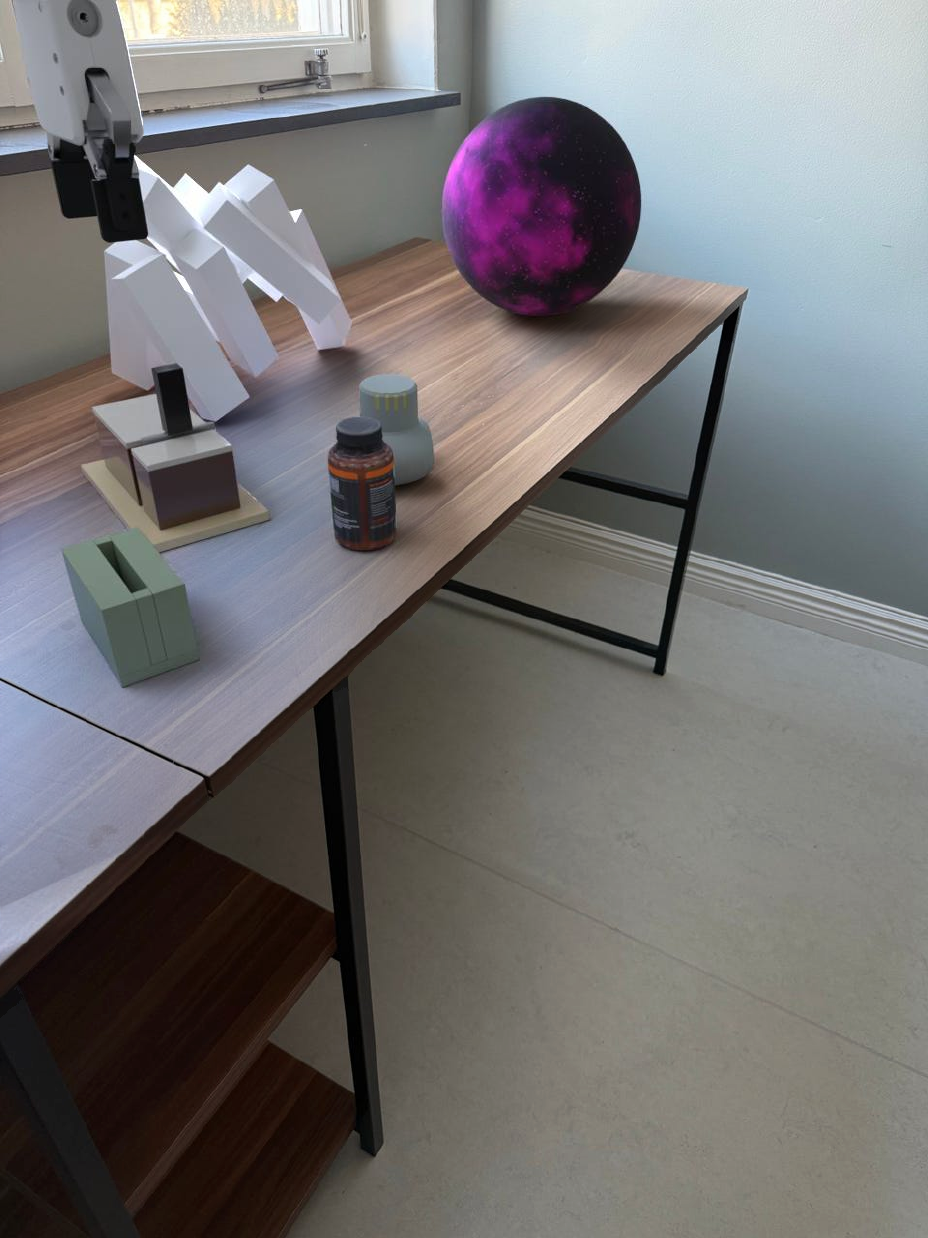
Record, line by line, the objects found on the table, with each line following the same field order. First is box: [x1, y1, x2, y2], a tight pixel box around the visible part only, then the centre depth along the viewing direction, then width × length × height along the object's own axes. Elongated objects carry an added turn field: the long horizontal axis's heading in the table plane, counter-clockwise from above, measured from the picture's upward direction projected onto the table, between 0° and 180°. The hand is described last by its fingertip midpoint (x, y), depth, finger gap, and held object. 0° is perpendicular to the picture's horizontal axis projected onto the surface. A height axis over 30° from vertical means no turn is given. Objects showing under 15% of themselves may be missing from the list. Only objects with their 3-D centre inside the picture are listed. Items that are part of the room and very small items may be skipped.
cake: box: [80, 393, 271, 553], centre depth 87 cm, size 12×20×8 cm, turn 36°
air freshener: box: [358, 373, 435, 486], centre depth 92 cm, size 11×8×10 cm
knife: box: [141, 363, 216, 446], centre depth 84 cm, size 7×2×13 cm, turn 126°
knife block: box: [60, 527, 200, 688], centre depth 68 cm, size 10×6×7 cm, turn 36°
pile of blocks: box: [103, 155, 353, 423], centre depth 109 cm, size 35×30×35 cm
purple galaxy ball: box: [441, 96, 642, 317], centre depth 134 cm, size 30×30×30 cm
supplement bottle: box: [327, 416, 398, 551], centre depth 80 cm, size 6×6×11 cm
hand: (104, 227), depth 67 cm, fingers open, 9 cm apart
